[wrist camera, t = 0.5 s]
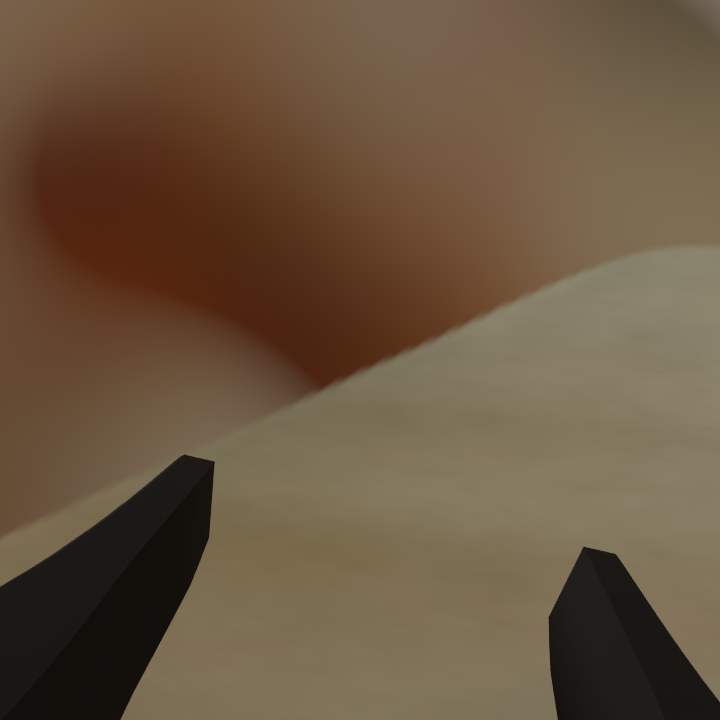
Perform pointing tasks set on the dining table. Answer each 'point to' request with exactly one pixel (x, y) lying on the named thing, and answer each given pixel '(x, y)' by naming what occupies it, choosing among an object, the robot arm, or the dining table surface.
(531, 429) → the dining table surface
